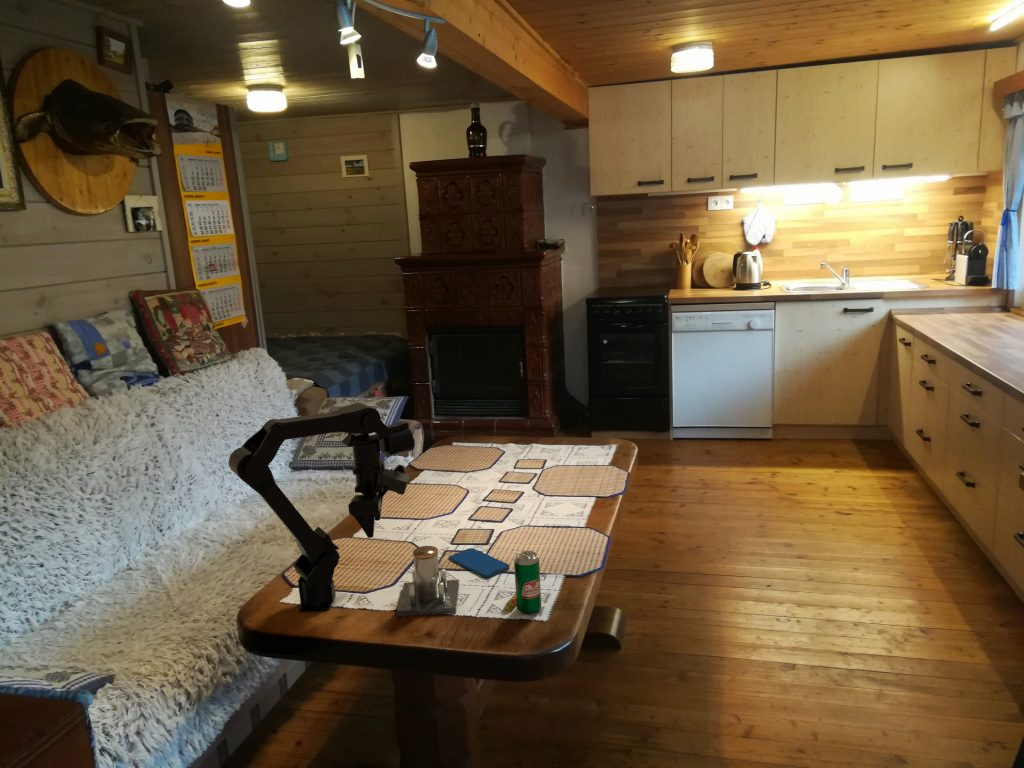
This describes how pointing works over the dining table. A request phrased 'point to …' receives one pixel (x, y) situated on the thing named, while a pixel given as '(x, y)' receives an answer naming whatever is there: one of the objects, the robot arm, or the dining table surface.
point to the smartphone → (479, 563)
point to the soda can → (527, 582)
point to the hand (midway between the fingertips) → (374, 528)
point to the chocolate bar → (510, 604)
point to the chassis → (437, 606)
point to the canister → (426, 572)
